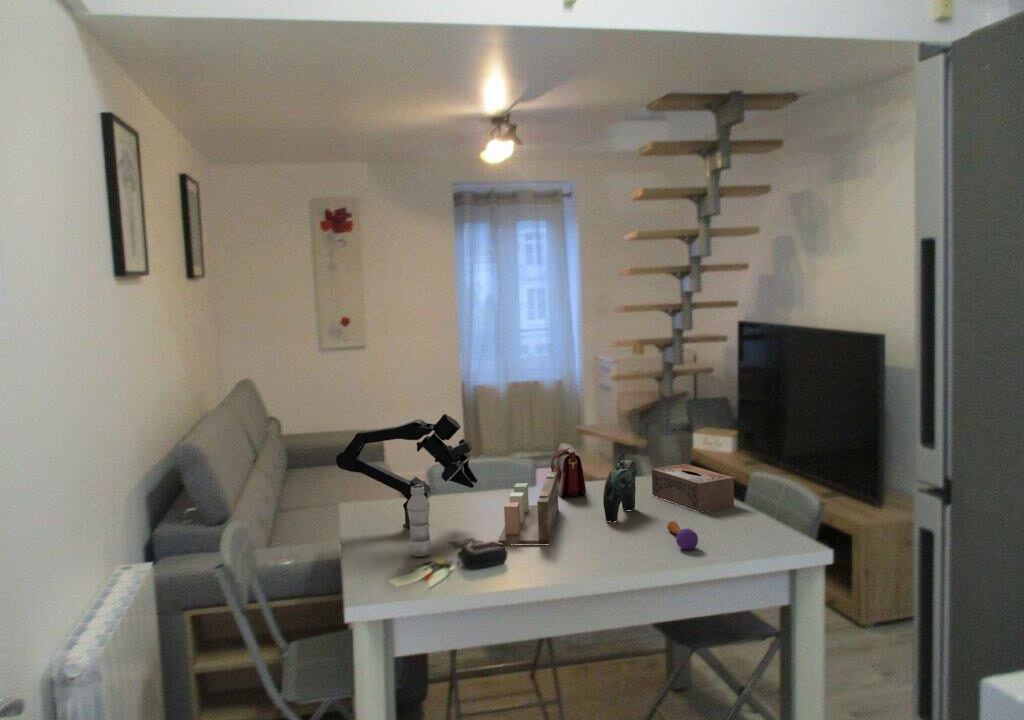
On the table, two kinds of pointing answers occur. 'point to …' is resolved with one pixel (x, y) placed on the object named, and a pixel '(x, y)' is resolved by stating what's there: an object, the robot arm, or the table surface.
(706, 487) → the tissue box cover
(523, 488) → the pale green block
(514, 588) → the table surface
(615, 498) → the dark green arched piece
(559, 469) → the handbag
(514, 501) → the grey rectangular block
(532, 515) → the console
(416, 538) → the plastic bottle
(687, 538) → the purple maraca
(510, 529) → the pink rectangular block
